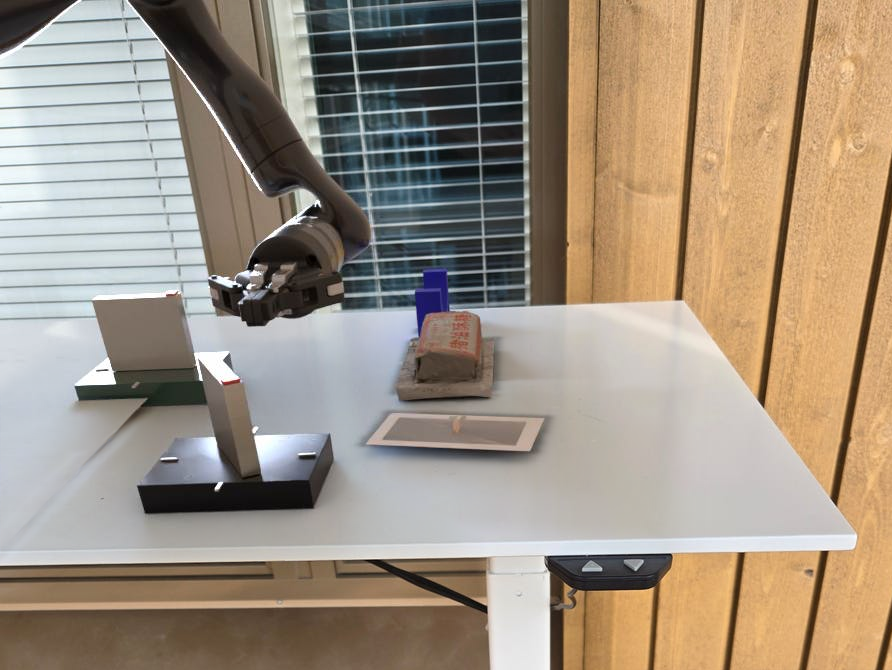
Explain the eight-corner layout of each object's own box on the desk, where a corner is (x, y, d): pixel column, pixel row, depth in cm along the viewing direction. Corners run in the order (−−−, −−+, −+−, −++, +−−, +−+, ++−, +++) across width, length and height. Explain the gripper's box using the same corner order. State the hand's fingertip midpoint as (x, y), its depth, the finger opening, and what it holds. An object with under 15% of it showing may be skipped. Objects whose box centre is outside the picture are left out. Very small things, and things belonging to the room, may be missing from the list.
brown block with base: (407, 309, 103) (493, 305, 103) (411, 351, 106) (494, 348, 105) (391, 356, 88) (491, 352, 88) (396, 403, 91) (492, 399, 91)
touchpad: (530, 462, 77) (529, 439, 76) (366, 455, 80) (364, 432, 79) (544, 429, 83) (544, 407, 82) (392, 423, 86) (390, 402, 85)
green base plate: (75, 413, 93) (67, 389, 92) (120, 373, 104) (114, 350, 102) (205, 409, 92) (199, 384, 91) (237, 369, 103) (232, 346, 102)
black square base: (137, 522, 71) (128, 492, 69) (187, 457, 82) (180, 429, 80) (310, 517, 70) (304, 486, 69) (337, 452, 81) (332, 424, 80)
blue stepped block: (455, 342, 108) (452, 290, 105) (419, 343, 108) (414, 292, 105) (461, 315, 118) (458, 268, 115) (427, 317, 118) (423, 269, 115)
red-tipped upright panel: (216, 442, 78) (196, 353, 73) (234, 438, 78) (215, 350, 74) (242, 478, 71) (221, 383, 67) (261, 473, 71) (242, 379, 67)
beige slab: (111, 371, 96) (90, 297, 92) (117, 366, 98) (96, 293, 93) (192, 368, 96) (175, 293, 91) (197, 363, 97) (180, 289, 93)
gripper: (222, 230, 86) (164, 269, 72) (356, 225, 85) (325, 263, 71) (237, 310, 90) (185, 362, 76) (365, 305, 90) (337, 357, 75)
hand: (253, 314), depth 74 cm, fingers closed
